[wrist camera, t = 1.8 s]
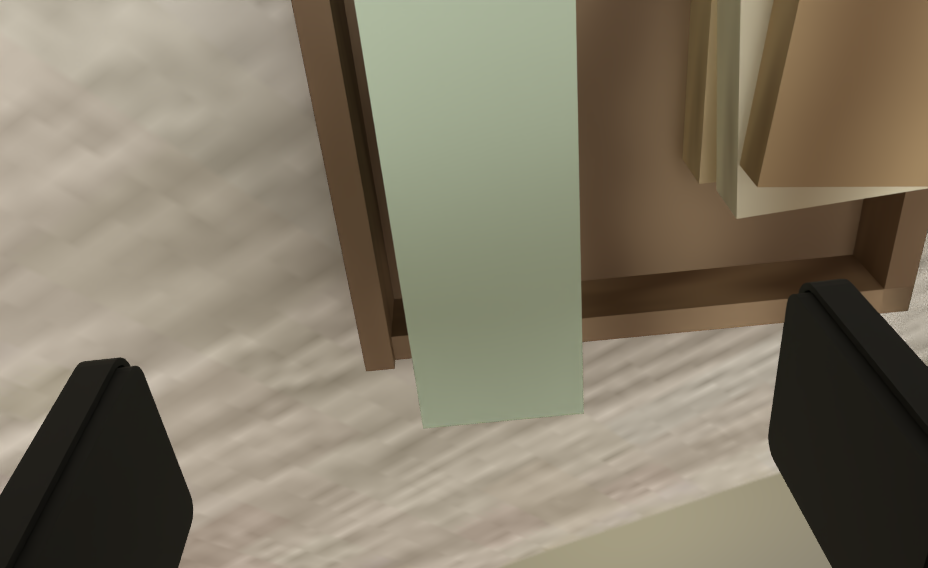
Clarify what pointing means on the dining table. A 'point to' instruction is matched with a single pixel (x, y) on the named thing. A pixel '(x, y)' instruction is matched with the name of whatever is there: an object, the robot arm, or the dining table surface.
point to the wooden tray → (614, 195)
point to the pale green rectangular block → (482, 199)
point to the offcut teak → (841, 96)
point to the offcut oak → (701, 93)
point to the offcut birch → (737, 71)
